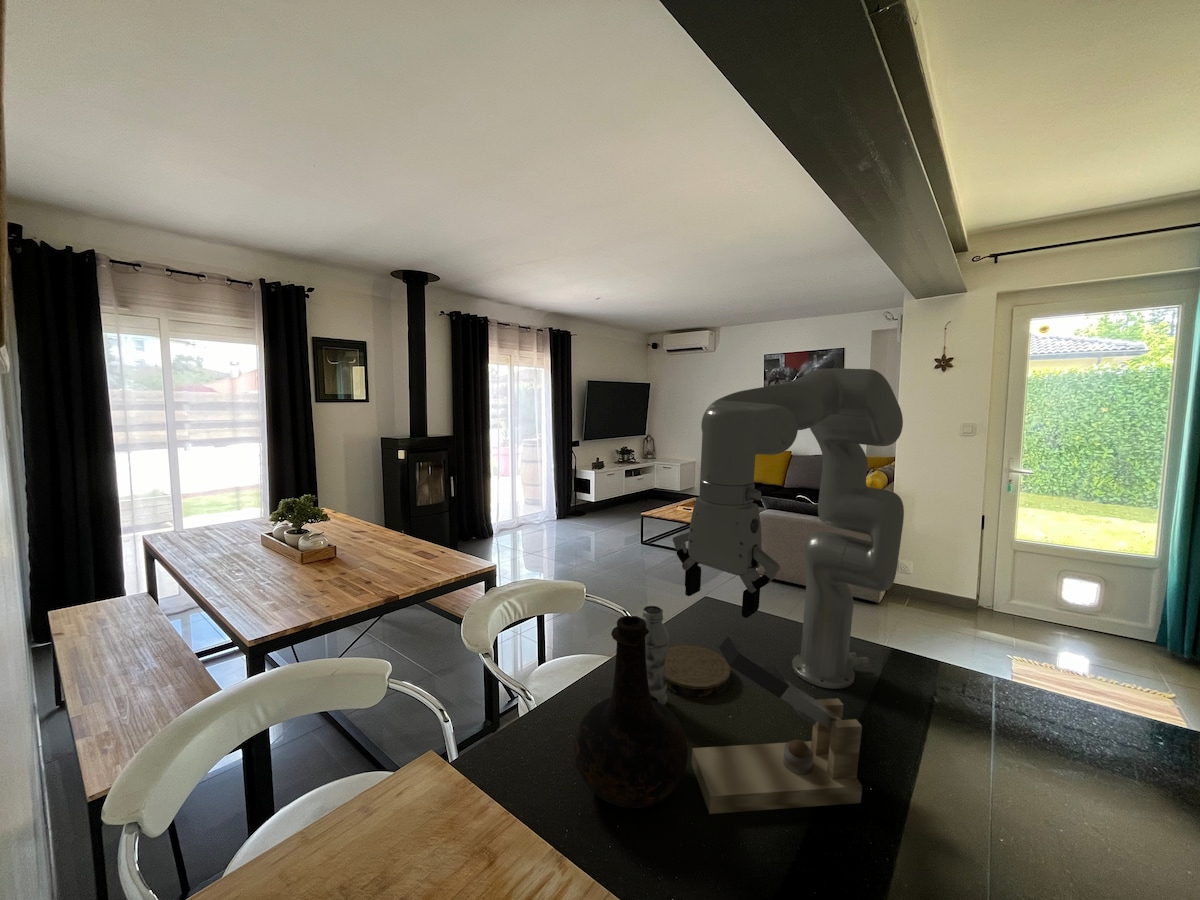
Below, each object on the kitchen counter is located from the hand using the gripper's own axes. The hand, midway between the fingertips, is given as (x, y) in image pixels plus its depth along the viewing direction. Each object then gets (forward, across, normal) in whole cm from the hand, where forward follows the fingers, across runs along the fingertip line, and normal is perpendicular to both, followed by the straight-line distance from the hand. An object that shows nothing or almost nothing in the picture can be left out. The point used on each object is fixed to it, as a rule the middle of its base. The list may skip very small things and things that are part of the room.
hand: (719, 603), depth 79 cm
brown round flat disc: (+32, +19, -24) cm, 44 cm away
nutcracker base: (+31, -7, -8) cm, 33 cm away
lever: (+16, -6, -8) cm, 19 cm away
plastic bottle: (+31, +20, -9) cm, 38 cm away
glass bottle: (+32, +10, +8) cm, 34 cm away
